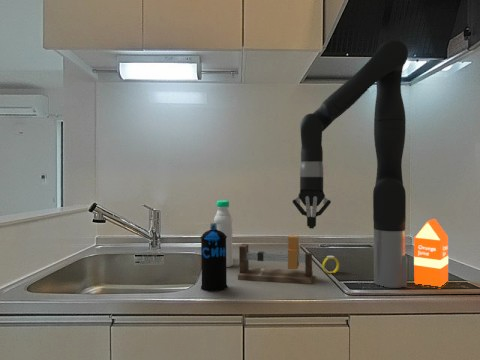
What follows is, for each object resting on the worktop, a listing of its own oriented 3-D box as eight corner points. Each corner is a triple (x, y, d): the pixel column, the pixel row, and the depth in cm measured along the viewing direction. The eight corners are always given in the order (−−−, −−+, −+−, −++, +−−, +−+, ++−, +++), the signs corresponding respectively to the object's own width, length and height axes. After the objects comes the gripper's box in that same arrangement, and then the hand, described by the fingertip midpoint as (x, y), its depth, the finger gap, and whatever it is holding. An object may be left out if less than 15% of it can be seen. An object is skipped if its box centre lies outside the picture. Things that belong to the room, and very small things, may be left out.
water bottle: (212, 264, 145) (211, 200, 145) (229, 262, 148) (228, 199, 147) (217, 268, 139) (216, 201, 138) (235, 267, 141) (234, 200, 141)
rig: (312, 275, 128) (312, 245, 128) (311, 283, 118) (310, 250, 118) (244, 271, 134) (244, 242, 134) (237, 279, 124) (237, 248, 124)
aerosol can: (201, 283, 120) (200, 221, 119) (227, 283, 120) (226, 221, 120) (200, 291, 111) (199, 225, 111) (227, 291, 112) (227, 224, 112)
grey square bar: (306, 261, 125) (305, 253, 125) (305, 263, 122) (305, 254, 122) (247, 258, 130) (247, 250, 130) (246, 260, 127) (245, 252, 127)
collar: (298, 264, 127) (298, 235, 127) (297, 269, 121) (297, 238, 121) (290, 264, 128) (289, 234, 128) (288, 268, 122) (287, 237, 122)
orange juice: (413, 283, 118) (413, 220, 117) (422, 277, 124) (422, 217, 124) (441, 288, 112) (440, 222, 112) (448, 282, 119) (448, 219, 119)
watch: (325, 275, 129) (324, 258, 129) (321, 273, 132) (320, 256, 132) (340, 272, 131) (339, 256, 131) (336, 270, 134) (335, 254, 134)
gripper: (332, 175, 125) (332, 227, 125) (292, 175, 128) (292, 225, 128) (332, 175, 118) (332, 230, 118) (290, 175, 121) (290, 229, 121)
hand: (311, 228), depth 123 cm, fingers closed
